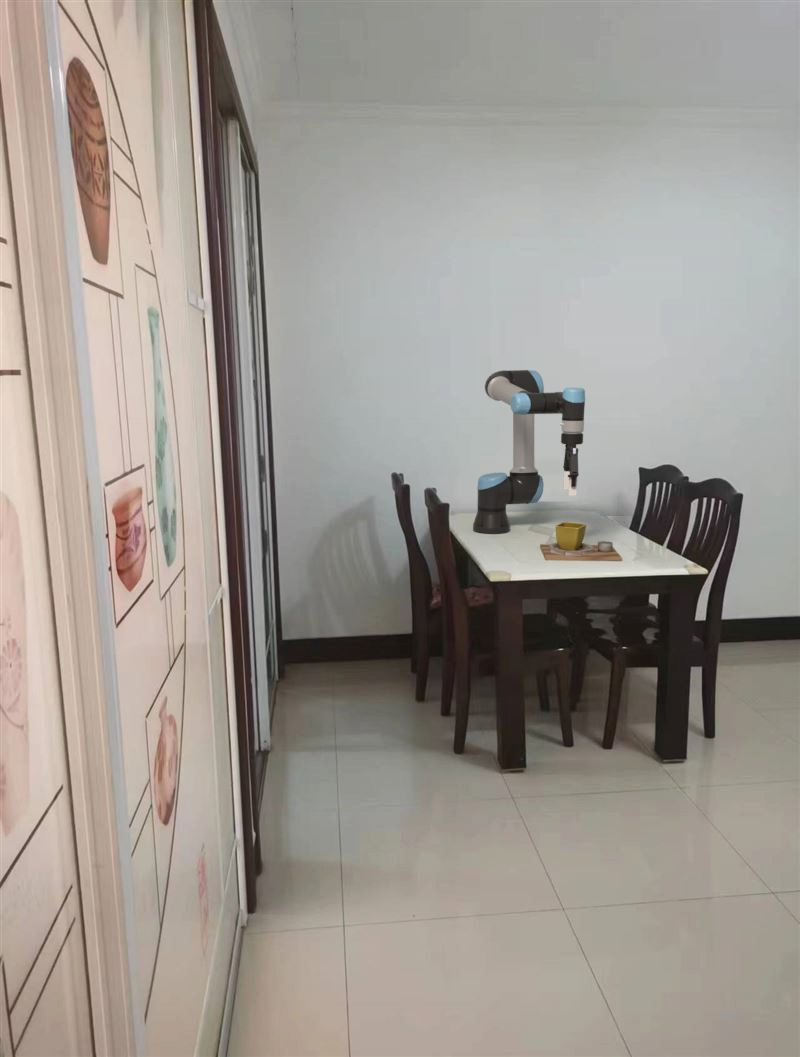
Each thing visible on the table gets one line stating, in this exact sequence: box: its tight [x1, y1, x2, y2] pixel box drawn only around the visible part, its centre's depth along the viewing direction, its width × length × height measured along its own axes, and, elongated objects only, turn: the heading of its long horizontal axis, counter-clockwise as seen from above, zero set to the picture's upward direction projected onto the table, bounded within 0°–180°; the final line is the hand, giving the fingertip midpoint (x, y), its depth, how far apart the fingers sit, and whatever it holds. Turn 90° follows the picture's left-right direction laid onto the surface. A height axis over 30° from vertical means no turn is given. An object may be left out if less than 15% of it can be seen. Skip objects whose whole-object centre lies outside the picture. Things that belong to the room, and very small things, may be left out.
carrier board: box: [539, 540, 623, 562], centre depth 285 cm, size 20×26×4 cm
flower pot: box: [555, 521, 587, 551], centre depth 286 cm, size 9×9×9 cm
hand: (569, 492), depth 283 cm, fingers open, 13 cm apart
